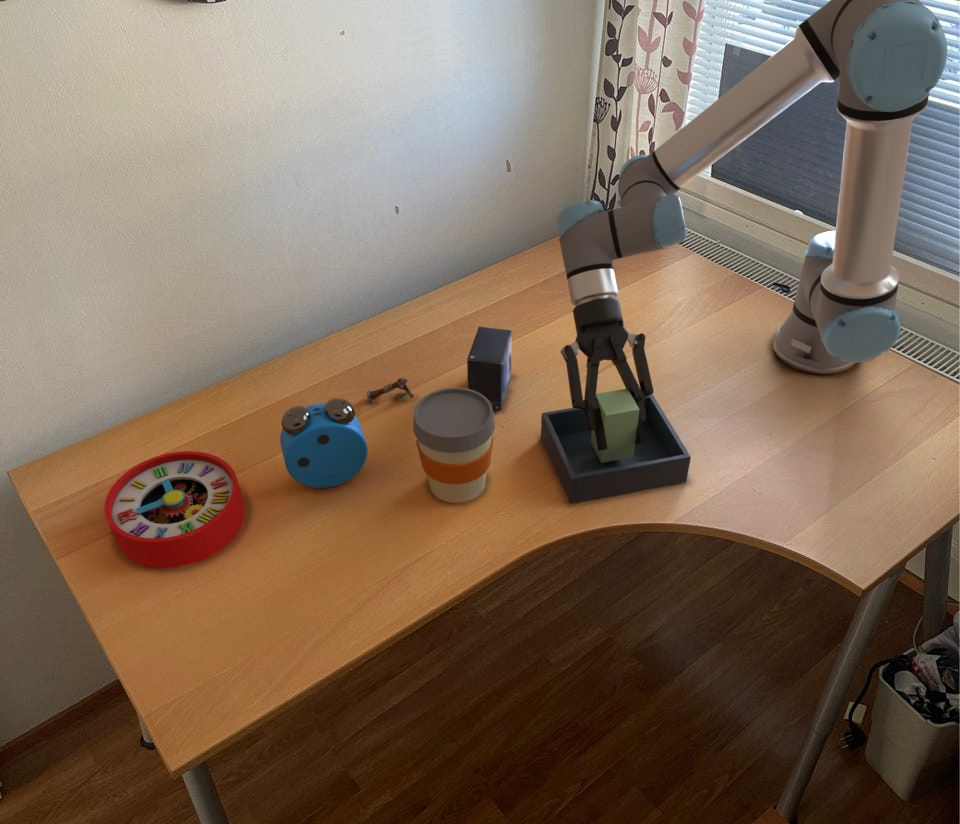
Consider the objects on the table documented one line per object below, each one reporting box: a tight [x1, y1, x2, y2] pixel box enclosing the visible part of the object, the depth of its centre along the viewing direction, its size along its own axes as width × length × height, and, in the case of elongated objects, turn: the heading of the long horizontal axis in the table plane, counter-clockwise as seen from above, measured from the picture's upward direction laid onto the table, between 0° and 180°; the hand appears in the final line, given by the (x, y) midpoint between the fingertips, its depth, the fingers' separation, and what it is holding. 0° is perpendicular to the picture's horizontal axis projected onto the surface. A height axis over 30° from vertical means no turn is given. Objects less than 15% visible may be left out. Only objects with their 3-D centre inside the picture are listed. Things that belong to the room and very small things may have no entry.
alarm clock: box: [279, 397, 369, 489], centre depth 144 cm, size 13×6×15 cm, turn 107°
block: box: [591, 388, 640, 463], centre depth 145 cm, size 6×6×10 cm
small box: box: [466, 326, 513, 411], centre depth 160 cm, size 11×6×10 cm, turn 168°
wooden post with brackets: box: [366, 377, 414, 404], centre depth 162 cm, size 2×8×4 cm, turn 92°
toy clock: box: [103, 450, 246, 570], centre depth 141 cm, size 20×6×20 cm
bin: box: [540, 393, 692, 505], centre depth 148 cm, size 20×17×6 cm
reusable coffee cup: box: [412, 387, 496, 504], centre depth 142 cm, size 13×13×15 cm
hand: (621, 446), depth 143 cm, fingers closed on block, 5 cm apart
